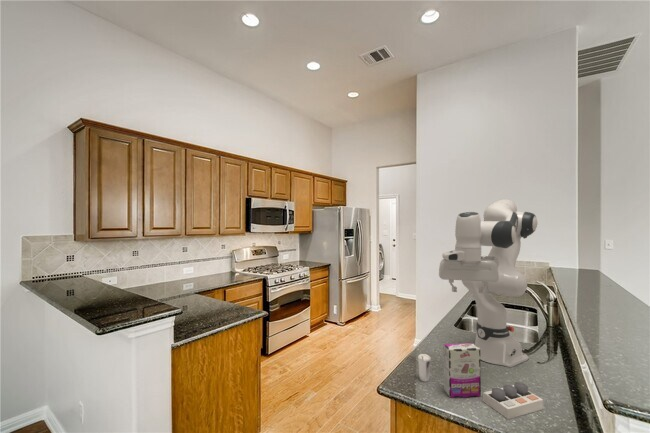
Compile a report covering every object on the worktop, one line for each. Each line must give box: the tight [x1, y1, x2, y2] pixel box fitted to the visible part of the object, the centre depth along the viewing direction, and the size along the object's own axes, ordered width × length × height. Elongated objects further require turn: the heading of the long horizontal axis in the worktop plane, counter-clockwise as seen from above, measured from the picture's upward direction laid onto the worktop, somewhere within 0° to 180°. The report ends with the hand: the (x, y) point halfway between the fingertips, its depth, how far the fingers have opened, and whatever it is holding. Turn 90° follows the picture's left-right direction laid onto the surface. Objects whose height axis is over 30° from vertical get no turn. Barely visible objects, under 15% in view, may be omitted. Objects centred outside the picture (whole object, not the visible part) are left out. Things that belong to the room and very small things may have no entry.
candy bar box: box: [442, 342, 482, 399], centre depth 102 cm, size 11×5×16 cm, turn 94°
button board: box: [482, 384, 544, 420], centre depth 95 cm, size 15×9×3 cm, turn 109°
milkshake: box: [417, 353, 432, 382], centre depth 110 cm, size 4×5×10 cm
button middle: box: [502, 384, 517, 399], centre depth 96 cm, size 4×4×3 cm
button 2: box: [513, 381, 529, 396], centre depth 98 cm, size 4×4×3 cm
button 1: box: [491, 387, 505, 402], centre depth 95 cm, size 4×4×3 cm
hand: (467, 292), depth 110 cm, fingers open, 8 cm apart
